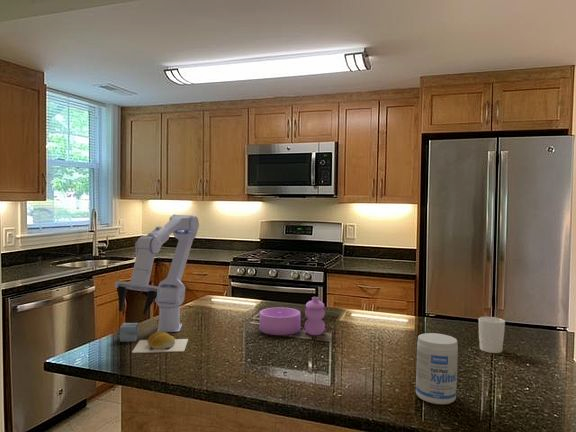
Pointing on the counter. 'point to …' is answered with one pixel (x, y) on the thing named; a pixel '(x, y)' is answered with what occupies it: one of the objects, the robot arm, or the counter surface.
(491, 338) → the white cup
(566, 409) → the counter surface
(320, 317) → the container set
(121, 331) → the slate-blue cube
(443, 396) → the supplement tub
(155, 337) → the bread roll
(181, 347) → the letter board
